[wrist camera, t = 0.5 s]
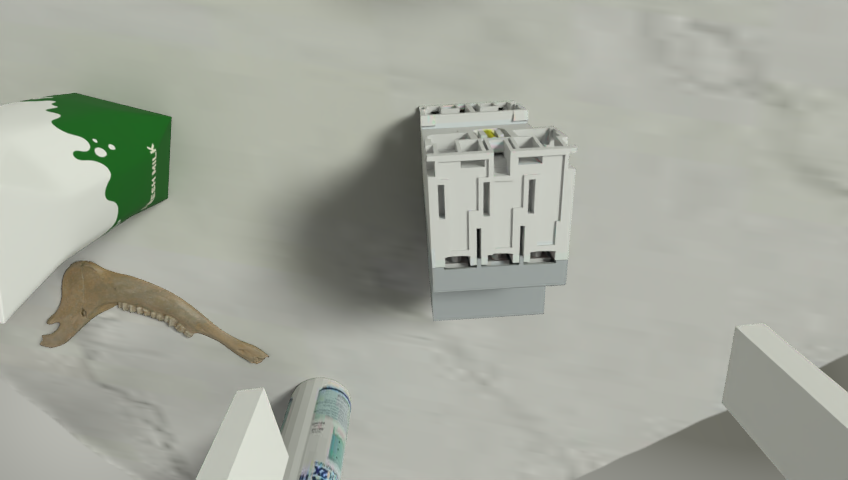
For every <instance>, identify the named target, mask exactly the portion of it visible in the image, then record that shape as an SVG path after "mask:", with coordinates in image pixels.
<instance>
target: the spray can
mask: <svg viewBox="0 0 848 480" xmlns="http://www.w3.org/2000/svg"><path fill="white" fill-rule="evenodd" d="M350 412H351V398H350V395H349V392H348V391H347V390H346V388H345V387H344V386H342V385H341V384H340V383H338V382H336V381H334V380H331V379H326V378H313V379H309V380H307V381H304V382H302V383H301V384H300V385H299V386H297V388H296V389H295V391H294V392H293V394H292V396H291V399H290V402H289V405H288V408H287V411H286V414H285V417H284V421H283V424H282V427H281V430H280V434H281V436H282V439H283V442H284V445H285V447H286V450H287V453H288V456H289V458H288V462H287V465H286V469H285V473H284V476H283V480H341V476H342V469H343V462H344V455H345V448H346V440H347V433H348V426H349V419H350Z"/></svg>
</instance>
